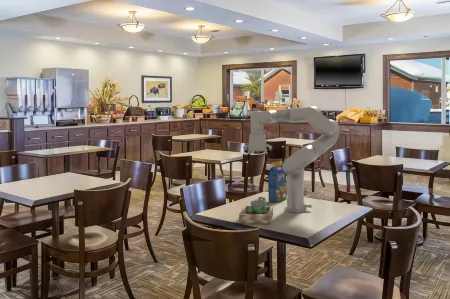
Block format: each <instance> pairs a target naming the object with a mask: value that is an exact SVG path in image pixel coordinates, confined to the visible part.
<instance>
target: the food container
mask: <svg viewBox="0 0 450 299" xmlns="http://www.w3.org/2000/svg"><path fill="white" fill-rule="evenodd" d="M266 204H267V199H266V198H265V197H263V196H259V197H258V198H257V199H254V200H250V206H251V211H252V214H262V215H265V206H266Z"/></svg>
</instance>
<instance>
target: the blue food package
mask: <svg viewBox="0 0 450 299" xmlns="http://www.w3.org/2000/svg"><path fill="white" fill-rule="evenodd" d="M267 178H268V181H267V182H268V187H267V189H268V202H269V203H270V202H272V203H279V202H282V201H285V200H287V173H285V172H284V170H283V160H279V161H275V162H274V161H273V162H271V167H270V169H269V171H268V176H267Z"/></svg>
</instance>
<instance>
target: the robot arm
mask: <svg viewBox="0 0 450 299" xmlns="http://www.w3.org/2000/svg"><path fill="white" fill-rule="evenodd" d="M276 123H292V124H293V123H294V124H295V123H297V124H298V123H307V124H309V125H310V126H311V127H312V128H314V130H316V131H318V133H319V134H321V135H320V136H319V137H318V138H316V139H315V140H314V141H313V142H310V143H309V144H307V145H305V146H303V147H301V148H299V149H298V150H297V151H295V152H294V153H293V154H291V155H290V156H289V157H287V158H285V160H284V161H283V162H282V165H283V170H284V172H285V173H286V183H287V199H286V204H287V205H286V206H285V207H284V211H285V212H288V213H304V212H306V211H307V208H312V207H313V206H312V205H313V204H311V203H305V200H304V199H305V198H304V197H305V193H304V192H305V191H304V190H305V189H304V186H305V185H304V183H305V182H304V180H305V179H304V178H305V168H306V167H307V166H309V165H310V164H311V163H313V162H314V161H316V160H317V158H319V157H320V156H321V155H323V154H325V153H326V152H327V151H328V150H329V149H331V148H332V147H333V146H334V145H335V144H336V143H337V141H338V139H339V136H340V126H339V123H338V122H337V121H336V120H334V119H331V118H328V117H327V116H325V115H324V114H323V113H322V110H321V108H320V107H318V106H315V105H313V106H301V107H300V106H299V107H290V108H286V109H285V108H284V109H271V110H264V111H262V110H252V111H251V112H250V134H249V140H248V144H245V146H243V147H242V149H243V151H244V152H245V153H246V154H247V160H248V162H250V161H251V153H252V152H264V161H265V162H267V160H268V159H269V156H268V154H269V153H270V152H271V151H272V149H273V146H271V145H270V144H267V139H266V133H267V130H266V129H264V124H276ZM247 148H248V150H247ZM267 148H269V149H268V150H267Z"/></svg>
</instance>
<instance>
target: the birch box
mask: <svg viewBox="0 0 450 299" xmlns="http://www.w3.org/2000/svg"><path fill="white" fill-rule="evenodd" d="M273 216H274V206H273V205H265V215H262V214H252V211H251V205H244V206H243V208H242V209H241V210H240V212H239V213H238V224H239V225H264V226H270V225H271V223H272V220H273Z"/></svg>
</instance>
